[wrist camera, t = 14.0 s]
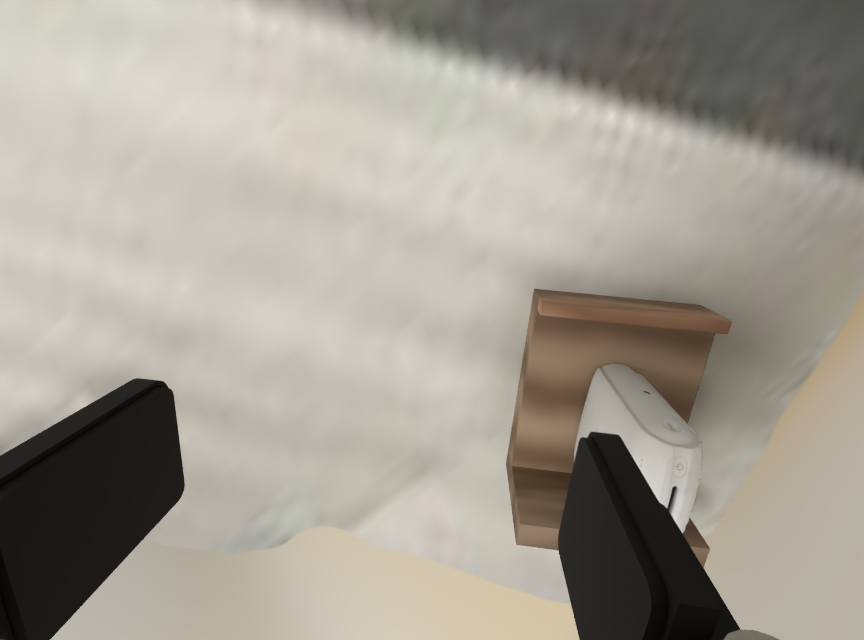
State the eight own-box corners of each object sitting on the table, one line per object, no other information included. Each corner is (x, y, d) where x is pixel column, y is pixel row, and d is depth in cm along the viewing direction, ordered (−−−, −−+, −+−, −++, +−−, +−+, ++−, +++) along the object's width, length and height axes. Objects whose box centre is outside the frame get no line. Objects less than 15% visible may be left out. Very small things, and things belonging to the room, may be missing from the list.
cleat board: (534, 288, 37) (556, 325, 27) (700, 305, 36) (783, 349, 26) (506, 463, 42) (516, 544, 33) (649, 481, 41) (702, 569, 32)
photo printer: (592, 357, 35) (654, 445, 23) (645, 365, 35) (734, 457, 23) (565, 461, 38) (607, 585, 26) (613, 469, 38) (677, 597, 26)
